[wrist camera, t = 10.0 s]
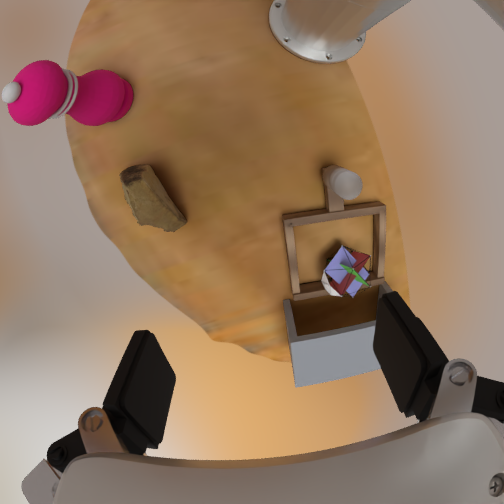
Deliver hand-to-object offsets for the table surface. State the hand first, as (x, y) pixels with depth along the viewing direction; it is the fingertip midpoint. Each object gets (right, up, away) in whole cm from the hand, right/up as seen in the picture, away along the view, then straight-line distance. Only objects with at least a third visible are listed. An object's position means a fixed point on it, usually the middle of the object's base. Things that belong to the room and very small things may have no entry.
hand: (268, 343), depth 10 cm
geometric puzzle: (+13, +2, +28) cm, 31 cm away
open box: (+13, -7, +32) cm, 36 cm away
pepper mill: (-19, +24, +18) cm, 35 cm away
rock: (-13, +11, +24) cm, 30 cm away
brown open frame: (+11, +7, +26) cm, 29 cm away
